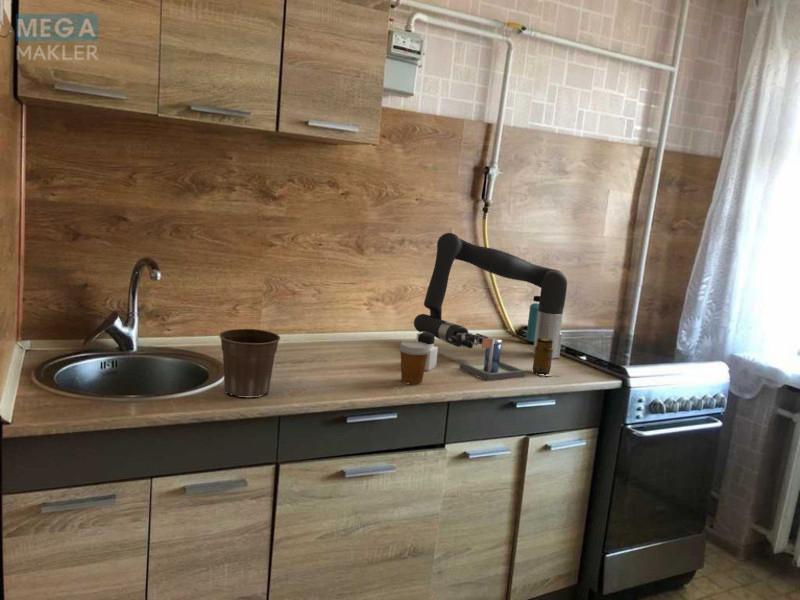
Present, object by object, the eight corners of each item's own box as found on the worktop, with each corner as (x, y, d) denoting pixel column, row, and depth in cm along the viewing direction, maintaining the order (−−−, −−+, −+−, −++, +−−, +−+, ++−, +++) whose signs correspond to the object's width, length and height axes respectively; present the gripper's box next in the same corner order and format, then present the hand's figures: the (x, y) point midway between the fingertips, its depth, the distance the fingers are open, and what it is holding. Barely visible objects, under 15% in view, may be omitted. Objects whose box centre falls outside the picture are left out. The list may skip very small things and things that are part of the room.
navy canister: (495, 368, 233) (498, 337, 231) (500, 373, 228) (504, 341, 226) (481, 368, 232) (484, 337, 230) (486, 372, 227) (489, 341, 225)
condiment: (543, 369, 239) (547, 336, 237) (558, 376, 232) (562, 342, 230) (526, 370, 236) (530, 337, 234) (541, 377, 229) (545, 343, 227)
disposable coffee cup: (417, 388, 204) (420, 350, 202) (390, 381, 208) (393, 344, 206) (432, 382, 212) (435, 345, 210) (406, 375, 217) (409, 339, 214)
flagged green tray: (451, 369, 229) (455, 328, 227) (495, 364, 240) (499, 326, 237) (479, 381, 217) (483, 339, 214) (524, 376, 227) (529, 336, 225)
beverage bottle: (542, 345, 277) (548, 298, 273) (526, 344, 277) (532, 296, 273) (539, 342, 283) (545, 295, 280) (523, 340, 283) (529, 294, 280)
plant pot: (286, 398, 185) (289, 341, 182) (228, 404, 176) (231, 344, 173) (263, 381, 198) (266, 327, 195) (209, 386, 189) (211, 330, 187)
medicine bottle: (436, 367, 230) (439, 332, 228) (428, 371, 224) (431, 336, 222) (417, 363, 233) (420, 329, 231) (408, 367, 226) (411, 332, 224)
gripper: (438, 324, 242) (466, 335, 229) (469, 323, 250) (498, 333, 237) (436, 345, 243) (464, 356, 230) (467, 342, 251) (496, 354, 238)
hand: (481, 344), depth 233 cm, fingers open, 8 cm apart
